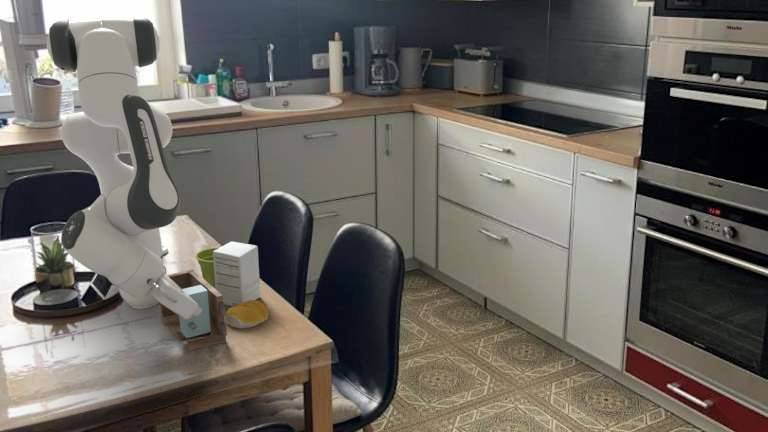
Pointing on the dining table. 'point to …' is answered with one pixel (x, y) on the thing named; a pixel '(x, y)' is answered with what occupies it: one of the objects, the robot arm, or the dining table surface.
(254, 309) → the bread roll
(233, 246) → the supplement box
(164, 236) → the dining table surface
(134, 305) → the lidded jar
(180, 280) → the carcass
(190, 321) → the pale teal box
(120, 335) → the dining table surface
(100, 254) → the robot arm
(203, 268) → the plant pot
